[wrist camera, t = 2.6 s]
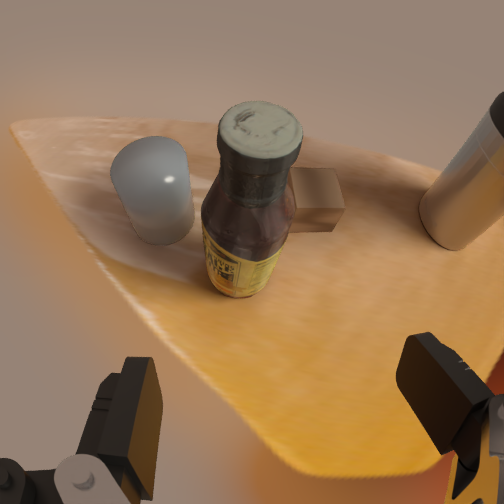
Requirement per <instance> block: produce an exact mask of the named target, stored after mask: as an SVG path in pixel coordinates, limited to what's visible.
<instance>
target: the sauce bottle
mask: <svg viewBox="0 0 504 504" xmlns="http://www.w3.org/2000/svg"><path fill="white" fill-rule="evenodd" d="M302 139H303V131H302V126H301V124H300V123H299V121H298V120H297V119H296V118H295V116H294V115H293V114H292V113H291V112H290V111H288V110H287V109H285V108H283V107H281V106H279V105H275V104H271V103H269V102H264V101H250V102H244V103H241V104H238V105H235V106H234V107H231V108H230V109H229V110H228V111H227V112H226V113H225V114H224V115H223V117H222V118H221V120H220V122H219V125H218V135H217V147H218V150H219V153H220V156H221V157H220V161H221V162H220V166H221V167H220V170H219V174H218V175H217V177H216V179H215V181H214V183H213V184H212V186H211V188H210V190H209V192H208V194H207V195H206V197H205V199H204V201H203V203H202V207H201V220H202V230H203V233H202V234H203V242H204V250H205V258H206V266H207V272H208V275H209V278H210V280H211V282H212V283H213V284H214V286H215V287H216V288H217V289H218V290H219V291H220V292H221V293H222V294H224V295H225V296H229V297H233V298H248V297H251V296H253V295H254V294H256V293H257V292H258V291H260V290H262V289H263V287H264V286H265V285H266V284H267V282H268V280H269V278H270V276H271V274H272V271H273V269H274V267H275V264H276V262H277V260H278V258H279V255H280V253H281V251H282V248H283V246H284V244H285V242H286V239H287V236H288V232H289V229H290V227H291V224H292V221H293V218H294V212H295V209H294V207H295V204H294V198H293V194H292V190H291V188H290V186H289V184H288V181H287V177H288V173H289V170H290V166H291V165H292V164H293V163H294V162H295V161H296V159H297V157H298V154H299V151H300V148H301V143H302Z"/></svg>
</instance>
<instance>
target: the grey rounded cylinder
mask: <svg viewBox="0 0 504 504" xmlns="http://www.w3.org/2000/svg"><path fill="white" fill-rule="evenodd" d="M110 176H111V180H112V182H113V185H114V187H115V189H116V191H117V193H118V196H119V198H120V200H121V202H122V204H123V206H124V208H125V211H126V213H127V215H128V217H129V219H130V221H131V223H132V225H133V227H134V229H135V231H136V233H137V235H138V236H139V237H140V238H141V239H142V240H144V241H145V242H147V243H149V244H153V245H169V244H172V243H175V242H177V241H179V240H180V239H182V238H183V237H184V236H185V235H186V234H187V233H188V232H189V231H190V229H191V228H192V226H193V223H194V219H195V211H194V204H193V197H192V190H191V183H190V176H189V169H188V161H187V155H186V152H185V150H184V148H183V147H182V146H181V145H180V144H179V143H178V142H176V141H175V140H173V139H170V138H167V137H162V136H151V137H145V138H142V139H139V140H136V141H134V142H132V143H130V144H129V145H127V146H126V147H124V148H123V149H122V150H121V151H120V152H119V153H118V154H117V156H116V157H115V159H114V161H113V163H112V166H111V170H110Z"/></svg>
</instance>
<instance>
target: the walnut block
mask: <svg viewBox="0 0 504 504" xmlns="http://www.w3.org/2000/svg"><path fill="white" fill-rule="evenodd" d="M287 181H288V184H289V186H290V188H291V190H292V194H293V198H294V204H295V207H294V209H295V212H294V218H293V221H292V224H291V227H290V229H289V232H288V233H297V232H332V230H333V229H334V227H335V225H336V223H337V222H338V220H339V218H340V217H341V215H342V213H343V211H344V210H345V204H344V200H343V196H342V192H341V189H340V185H339V181H338V178H337V174H336V171H335V169H326V168H290V170H289V173H288V177H287Z"/></svg>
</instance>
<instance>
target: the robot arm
mask: <svg viewBox="0 0 504 504" xmlns="http://www.w3.org/2000/svg"><path fill="white" fill-rule="evenodd" d="M419 213H420V217H421V220H422V223H423V225H424V227H425V229H426V230H427V232H428V233H429V234H430V236H431V237H432V238H433V239H434V240H435V241H436V242H437V243H438V244H440V245H441V246H443V247H445V248H447V249H450V250H461V249H463V248H465V247H466V246H467V245H469V244H470V243H471V242H472V241H474V240H475V239H476V238H477V237H478V236H480V235H481V234H482V233H483V232H485V231H486V230H487V229H488V228H489V227H491V226H492V225H493V224H494V223H495V222H496V221H498V220H499V219H500V218H501V217H502V216H503V215H504V92H502V93H500V94H499V95H498V96H497V98H496V99H495V100H494V102H493V104H492V105H491V107H490V108H489V109H488V111H487V112H486V114H485V115H484V117H483V118H482V119H481V121H480V122H479V124H478V125H477V127H476V128H475V130H474V131H473V132H472V134H471V135H470V136H469V138H468V139H467V141H466V142H465V143H464V145H463V146H462V147H461V149H460V150H459V151H458V153H457V154H456V155H455V157H454V158H453V159H452V160H451V162H450V163H449V164H448V166H447V167H446V168H445V169H444V171H443V172H442V173H441V175H440V176H439V177H438V178H437V180H436V181H435V182H434V183H433V185H432V186H431V187H430V188H429V189H428V191H427V192H426V193H425V194H424V196H423V197H422V198H421V201H420V204H419ZM396 382H397V386H398V388H399V389H400V391H401V393H402V394H403V396H404V397H405V399H406V400H407V402H408V403H409V405H410V406H411V408H412V410H413V411H414V413H415V414H416V416H417V417H418V419H419V421H420V422H421V424H422V425H423V427H424V428H425V430H426V432H427V433H428V435H429V436H430V438H431V440H432V441H433V443H434V445H435V446H436V448H437V449H438V451H439V453H440V454H441V455H443V454H446V453H448V452H450V451H452V450H454V451H455V452H456V455H455V456H454V458H453V461H452V467H451V472H450V478H449V484H448V489H447V494H446V498H445V502H444V504H504V394H499V395H496V396H495V395H494V394H493V393H492V391H491V390H490V389H489V388H488V387H487V386H486V384H485V383H484V382H483V381H482V380H481V379H480V378H479V377H478V376H477V375H476V373H475V372H474V371H473V370H472V369H470V367H469V366H468V365H467V364H466V363H465V362H463V359H462V358H461V357H460V356H459V355H458V354H457V353H456V352H455V351H454V350H452V349H451V348H449V347H447V346H446V345H444V344H441V343H440V341H439V340H438V339H437V338H436V337H435V336H434V335H433V334H432V333H430V332H425V333H420V334H415V335H410V336H408V338H407V339H406V341H405V345H404V348H403V351H402V355H401V358H400V361H399V364H398V367H397V371H396ZM162 412H163V401H162V394H161V390H160V386H159V382H158V377H157V373H156V369H155V364H154V361H153V358H152V357H127V358H126V359H125V362H124V365H123V368H122V371H121V373H111V374H110V375H109V376H108V377H107V378H106V379H105V380H104V381H103V382H102V383H101V384H100V386H99V389H98V392H97V394H96V400H94V402H93V405H92V411H90V414H89V417H88V419H87V422H86V425H85V428H84V431H83V434H82V437H81V440H80V443H79V446H78V449H77V452H76V454H75V455H73V456H70V457H68V458H66V459H64V460H63V461H62V462H61V463H60V464H59V465H58V467H57V468H56V469H52V470H38V471H24V470H23V468H22V467H21V466H20V465H19V464H18V463H17V462H16V461H14V460H11V459H8V458H0V504H140V501H141V500H150V501H152V499H153V489H154V479H155V469H156V461H157V452H158V442H159V435H160V427H161V420H162Z"/></svg>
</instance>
